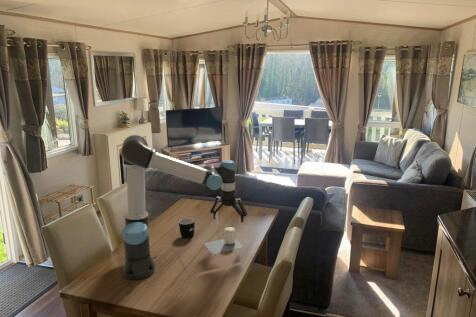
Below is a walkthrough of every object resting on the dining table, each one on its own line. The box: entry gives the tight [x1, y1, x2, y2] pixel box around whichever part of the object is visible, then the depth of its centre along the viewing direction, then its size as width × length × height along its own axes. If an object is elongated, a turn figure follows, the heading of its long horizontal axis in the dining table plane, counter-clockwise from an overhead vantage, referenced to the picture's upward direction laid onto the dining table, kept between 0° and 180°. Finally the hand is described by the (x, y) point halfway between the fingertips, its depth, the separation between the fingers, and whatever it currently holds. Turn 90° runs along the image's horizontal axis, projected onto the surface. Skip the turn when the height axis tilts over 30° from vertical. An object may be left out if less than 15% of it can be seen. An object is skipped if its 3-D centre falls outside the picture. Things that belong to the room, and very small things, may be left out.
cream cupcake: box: [223, 226, 236, 244], centre depth 198 cm, size 6×6×7 cm
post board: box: [203, 238, 244, 255], centre depth 197 cm, size 18×14×8 cm
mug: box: [178, 217, 196, 239], centre depth 211 cm, size 12×9×10 cm
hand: (228, 226), depth 197 cm, fingers open, 13 cm apart
